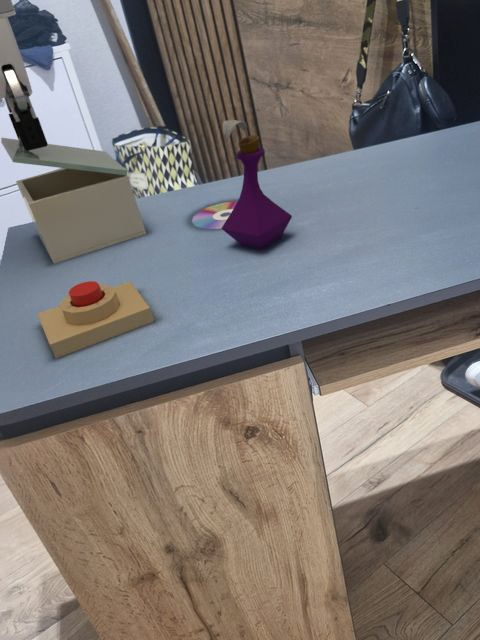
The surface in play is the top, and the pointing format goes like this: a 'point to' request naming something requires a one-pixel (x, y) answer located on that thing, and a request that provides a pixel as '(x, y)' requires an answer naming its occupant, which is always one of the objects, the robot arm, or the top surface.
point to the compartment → (81, 210)
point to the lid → (63, 157)
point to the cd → (213, 216)
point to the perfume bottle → (253, 199)
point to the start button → (86, 294)
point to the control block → (94, 319)
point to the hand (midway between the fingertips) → (32, 142)
